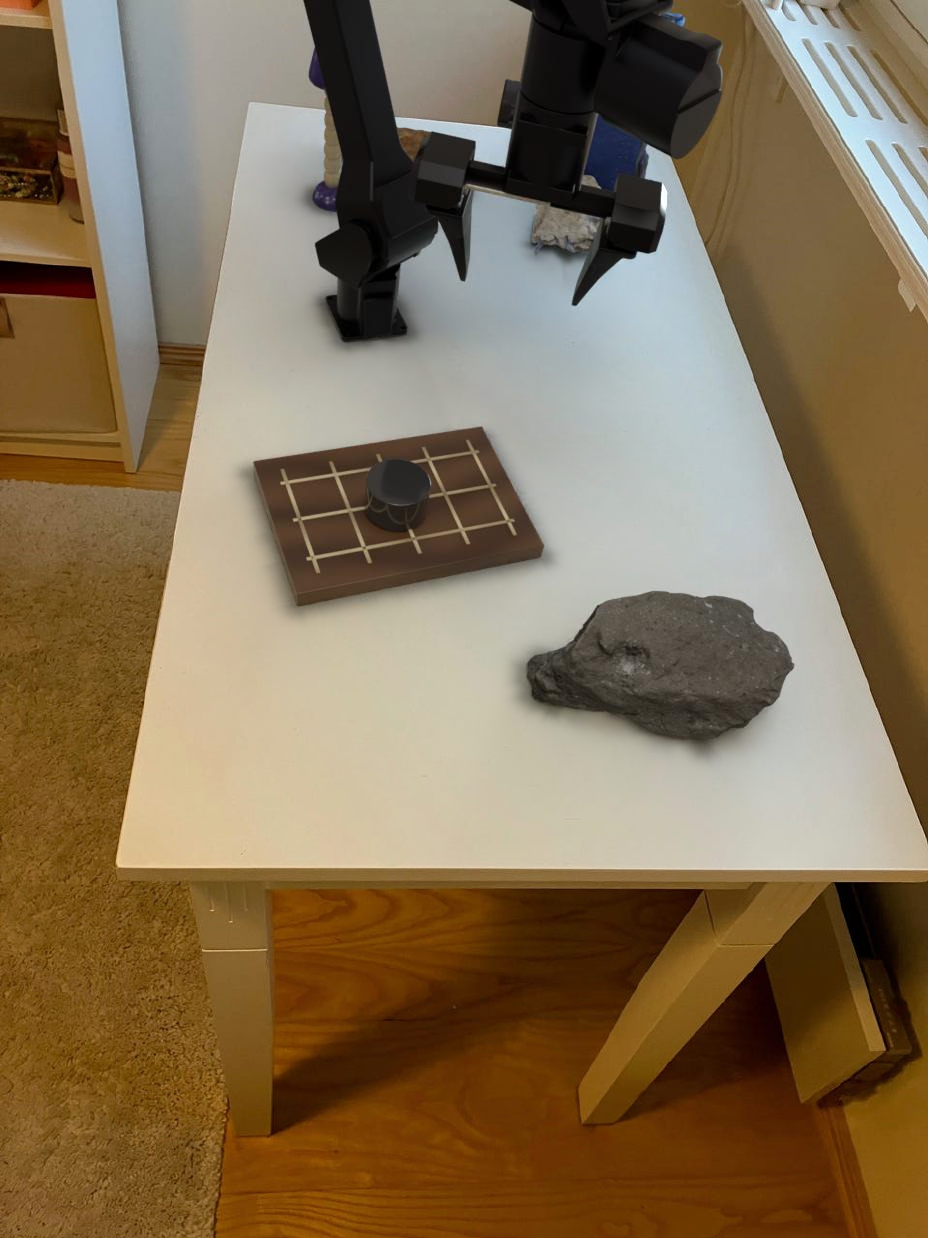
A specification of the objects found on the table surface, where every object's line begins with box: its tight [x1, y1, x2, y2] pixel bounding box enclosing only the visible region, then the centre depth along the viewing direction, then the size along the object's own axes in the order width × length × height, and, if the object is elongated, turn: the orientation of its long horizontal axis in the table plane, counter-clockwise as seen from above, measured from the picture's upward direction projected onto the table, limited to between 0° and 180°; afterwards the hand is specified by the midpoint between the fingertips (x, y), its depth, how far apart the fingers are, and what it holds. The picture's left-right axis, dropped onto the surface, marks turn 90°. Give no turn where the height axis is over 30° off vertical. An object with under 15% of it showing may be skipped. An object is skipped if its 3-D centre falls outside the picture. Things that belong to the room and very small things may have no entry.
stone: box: [526, 590, 795, 740], centre depth 68 cm, size 18×9×10 cm
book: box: [583, 12, 686, 191], centre depth 103 cm, size 14×5×20 cm, turn 71°
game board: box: [252, 425, 545, 607], centre depth 77 cm, size 14×20×2 cm
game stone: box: [364, 459, 431, 531], centre depth 75 cm, size 5×5×3 cm
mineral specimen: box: [531, 175, 601, 254], centre depth 104 cm, size 15×8×4 cm, turn 173°
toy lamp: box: [308, 47, 342, 212], centre depth 97 cm, size 5×5×17 cm
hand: (518, 290), depth 78 cm, fingers open, 9 cm apart
